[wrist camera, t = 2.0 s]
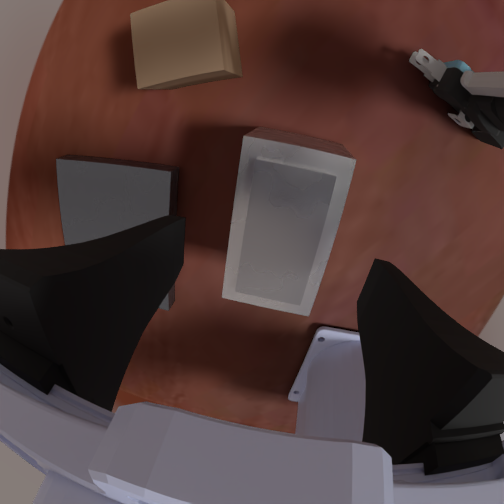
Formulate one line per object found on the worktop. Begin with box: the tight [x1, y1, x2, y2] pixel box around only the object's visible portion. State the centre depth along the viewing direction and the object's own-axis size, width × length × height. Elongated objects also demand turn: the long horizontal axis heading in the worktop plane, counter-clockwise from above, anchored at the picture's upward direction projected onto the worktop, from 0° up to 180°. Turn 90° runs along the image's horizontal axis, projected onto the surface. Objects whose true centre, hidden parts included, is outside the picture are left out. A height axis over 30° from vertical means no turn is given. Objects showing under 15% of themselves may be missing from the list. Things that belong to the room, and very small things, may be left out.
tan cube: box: [130, 0, 243, 89], centre depth 11 cm, size 4×4×4 cm
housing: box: [222, 127, 356, 316], centre depth 15 cm, size 8×4×5 cm, turn 171°
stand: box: [56, 155, 179, 311], centre depth 19 cm, size 10×9×1 cm
